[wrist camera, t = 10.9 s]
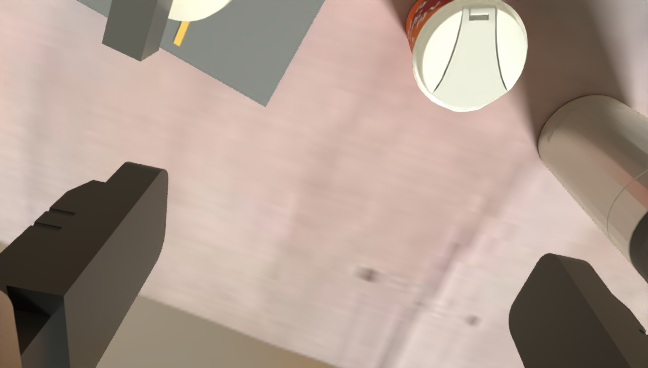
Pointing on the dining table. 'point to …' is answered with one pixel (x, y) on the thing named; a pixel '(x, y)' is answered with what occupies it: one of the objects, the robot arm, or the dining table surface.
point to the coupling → (150, 22)
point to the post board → (239, 41)
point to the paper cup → (465, 50)
